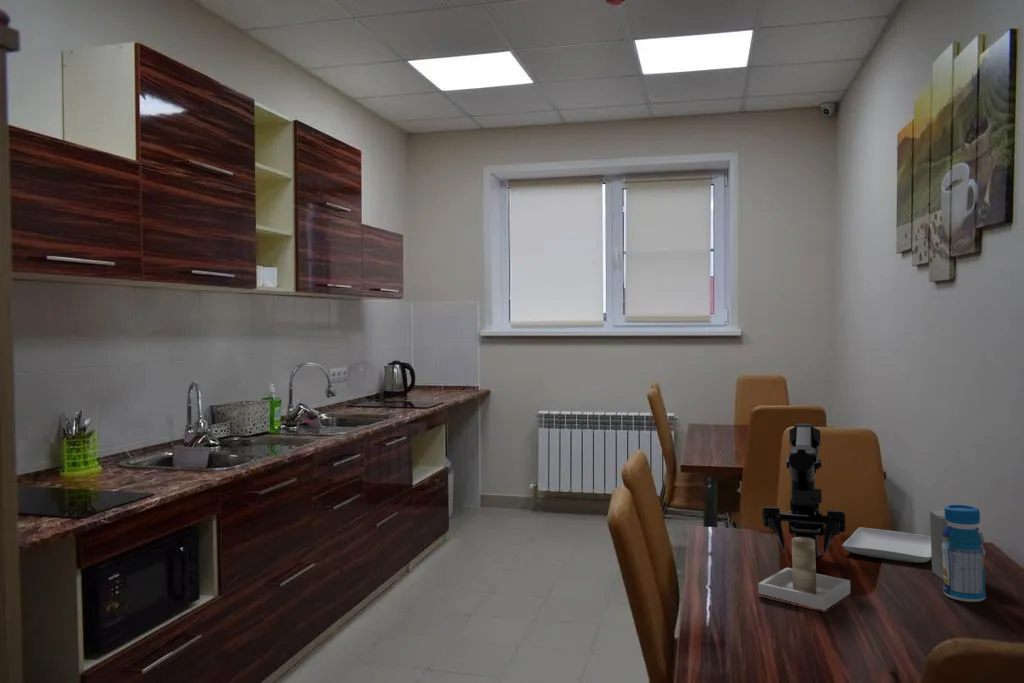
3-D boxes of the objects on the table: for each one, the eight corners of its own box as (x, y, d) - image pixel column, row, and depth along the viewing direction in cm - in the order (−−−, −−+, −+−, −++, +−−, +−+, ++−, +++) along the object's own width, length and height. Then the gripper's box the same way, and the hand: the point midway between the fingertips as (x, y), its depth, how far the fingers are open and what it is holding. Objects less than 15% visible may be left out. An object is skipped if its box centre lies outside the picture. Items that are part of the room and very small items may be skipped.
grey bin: (786, 580, 178) (786, 567, 178) (850, 594, 168) (850, 580, 168) (758, 597, 168) (758, 583, 168) (824, 613, 157) (824, 598, 157)
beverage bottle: (965, 605, 159) (962, 513, 159) (933, 592, 167) (931, 505, 167) (996, 600, 162) (993, 510, 161) (963, 588, 170) (960, 502, 170)
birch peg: (806, 587, 171) (804, 536, 171) (821, 594, 166) (819, 541, 166) (788, 590, 169) (786, 538, 169) (803, 597, 165) (801, 543, 165)
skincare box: (965, 572, 180) (963, 508, 180) (981, 582, 173) (979, 515, 173) (929, 572, 181) (927, 508, 181) (943, 582, 174) (941, 515, 174)
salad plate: (931, 569, 184) (930, 556, 184) (841, 556, 197) (840, 544, 197) (942, 549, 201) (942, 536, 201) (859, 538, 214) (858, 526, 214)
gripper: (761, 474, 182) (760, 530, 172) (844, 477, 175) (847, 536, 165) (764, 498, 189) (763, 553, 179) (843, 502, 182) (846, 560, 172)
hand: (803, 550), depth 174 cm, fingers open, 9 cm apart
